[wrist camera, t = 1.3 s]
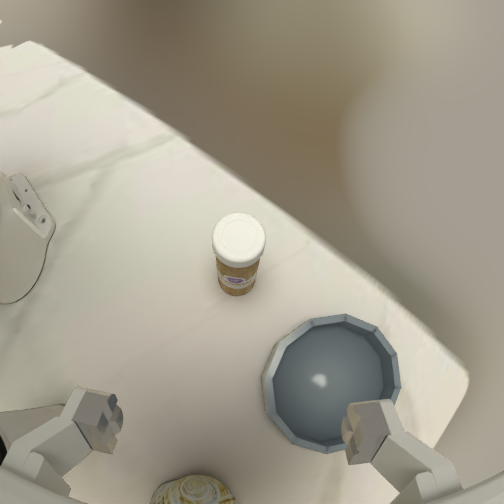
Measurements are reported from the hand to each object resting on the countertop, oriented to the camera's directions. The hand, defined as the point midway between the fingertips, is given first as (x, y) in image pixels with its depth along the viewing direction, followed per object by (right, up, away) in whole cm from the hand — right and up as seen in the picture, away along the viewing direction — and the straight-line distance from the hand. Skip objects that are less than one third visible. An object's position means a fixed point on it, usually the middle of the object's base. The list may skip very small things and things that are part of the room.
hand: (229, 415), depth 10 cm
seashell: (-6, -25, +19) cm, 32 cm away
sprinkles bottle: (-1, +2, +29) cm, 29 cm away
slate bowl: (+10, -10, +25) cm, 29 cm away
